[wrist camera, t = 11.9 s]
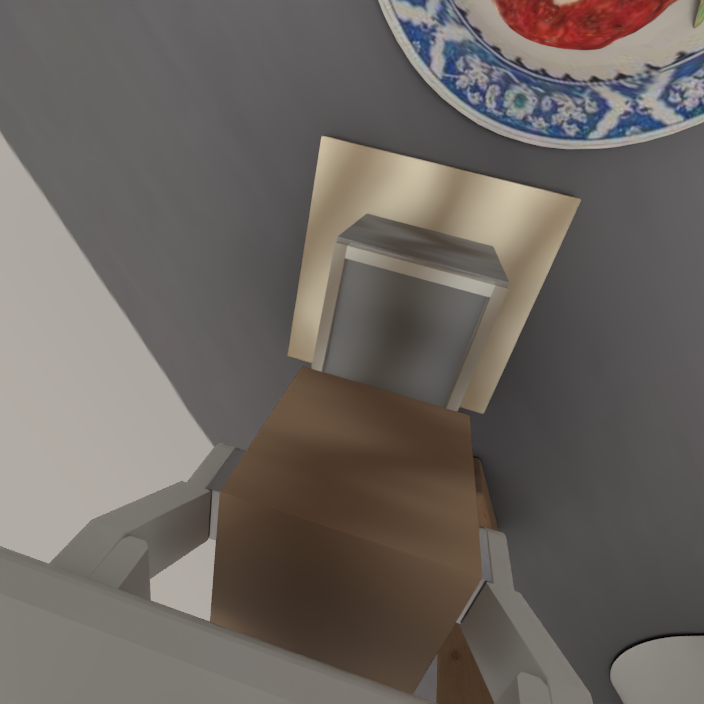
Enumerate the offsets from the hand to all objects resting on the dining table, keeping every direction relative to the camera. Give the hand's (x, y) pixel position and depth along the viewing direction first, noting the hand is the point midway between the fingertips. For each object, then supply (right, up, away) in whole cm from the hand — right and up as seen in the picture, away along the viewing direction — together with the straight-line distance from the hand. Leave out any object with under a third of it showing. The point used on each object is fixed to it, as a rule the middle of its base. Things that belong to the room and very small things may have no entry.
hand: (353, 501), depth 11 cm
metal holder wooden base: (+4, +9, +18) cm, 21 cm away
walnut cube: (0, +1, +2) cm, 2 cm away
